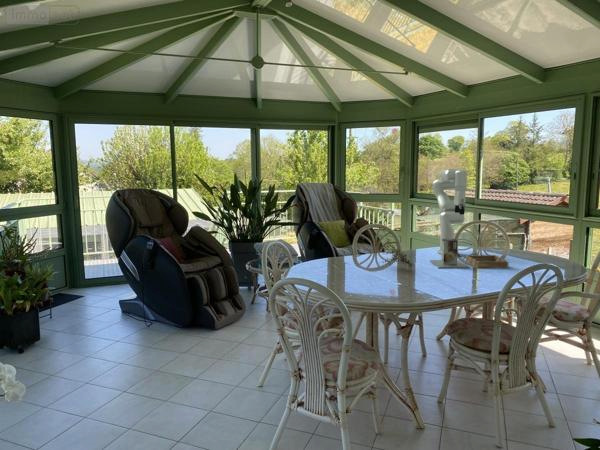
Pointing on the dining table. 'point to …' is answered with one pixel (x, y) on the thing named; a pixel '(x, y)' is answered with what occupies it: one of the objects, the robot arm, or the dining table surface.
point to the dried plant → (392, 251)
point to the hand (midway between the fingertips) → (459, 213)
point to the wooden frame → (497, 264)
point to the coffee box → (449, 251)
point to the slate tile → (441, 265)
